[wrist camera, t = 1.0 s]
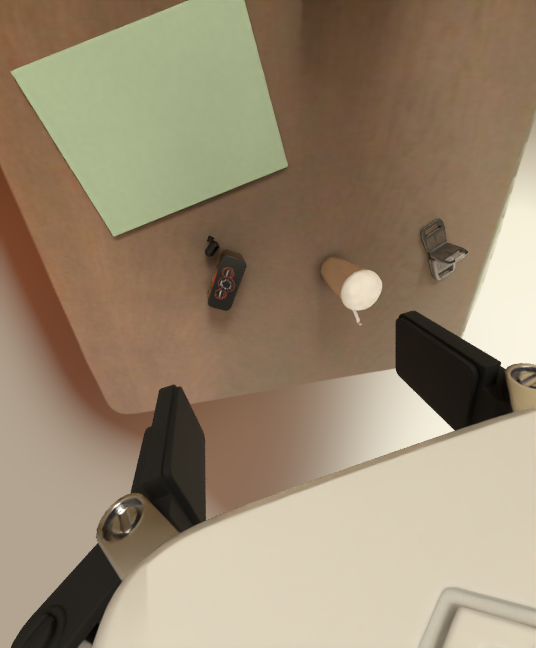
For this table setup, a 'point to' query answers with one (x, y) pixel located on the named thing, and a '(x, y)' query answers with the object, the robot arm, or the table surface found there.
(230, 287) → the wireless earbuds
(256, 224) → the table surface
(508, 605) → the robot arm
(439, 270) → the strap clip
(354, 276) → the milkshake
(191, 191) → the desk mat
